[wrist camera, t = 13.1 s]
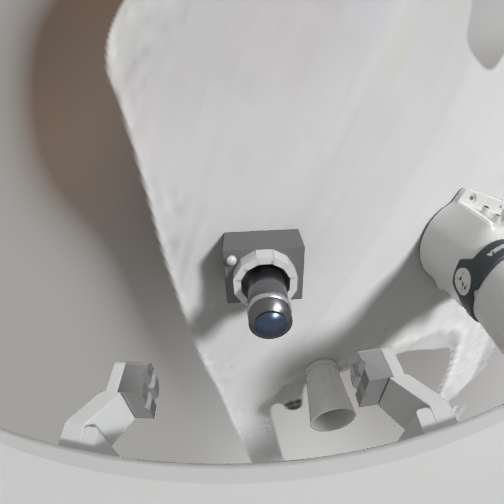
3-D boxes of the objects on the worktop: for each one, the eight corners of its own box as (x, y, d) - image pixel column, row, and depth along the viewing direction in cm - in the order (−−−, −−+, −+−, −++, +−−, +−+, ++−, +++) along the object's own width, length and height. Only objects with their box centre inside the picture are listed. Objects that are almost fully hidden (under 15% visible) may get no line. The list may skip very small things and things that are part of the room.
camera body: (298, 229, 44) (307, 254, 38) (296, 281, 48) (303, 311, 42) (224, 232, 44) (221, 259, 37) (228, 285, 48) (227, 316, 42)
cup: (296, 363, 57) (306, 416, 47) (338, 351, 56) (354, 402, 46) (305, 386, 61) (314, 435, 50) (343, 375, 60) (357, 423, 49)
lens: (257, 254, 40) (261, 301, 31) (291, 269, 41) (302, 317, 33) (239, 284, 42) (239, 334, 33) (272, 297, 43) (278, 347, 35)
